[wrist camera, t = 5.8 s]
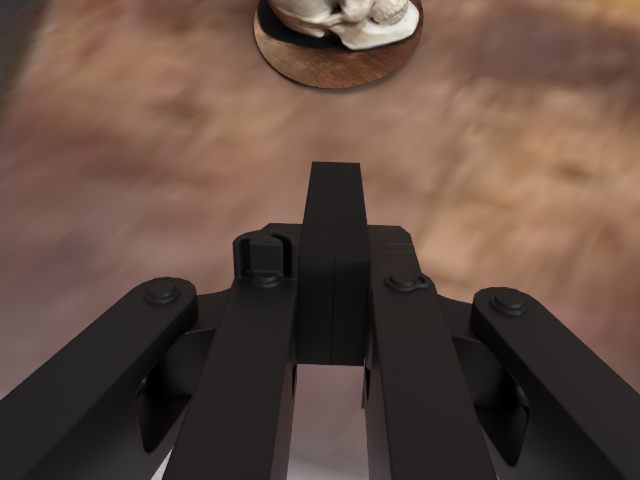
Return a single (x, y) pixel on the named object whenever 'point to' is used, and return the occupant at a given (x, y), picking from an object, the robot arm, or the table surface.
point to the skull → (337, 38)
